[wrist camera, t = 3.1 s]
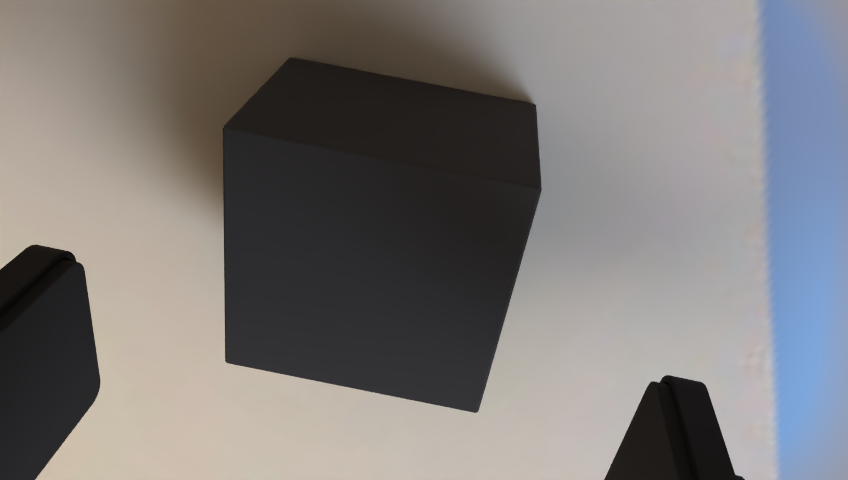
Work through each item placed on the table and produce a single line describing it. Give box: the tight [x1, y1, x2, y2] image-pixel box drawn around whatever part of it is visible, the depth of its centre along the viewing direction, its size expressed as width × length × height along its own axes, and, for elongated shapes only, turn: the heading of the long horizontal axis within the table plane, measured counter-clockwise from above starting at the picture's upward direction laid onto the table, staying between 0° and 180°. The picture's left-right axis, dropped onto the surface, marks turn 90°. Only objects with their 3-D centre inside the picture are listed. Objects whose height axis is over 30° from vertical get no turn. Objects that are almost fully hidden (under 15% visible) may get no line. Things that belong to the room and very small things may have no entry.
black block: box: [223, 58, 542, 413], centre depth 14 cm, size 6×6×4 cm
